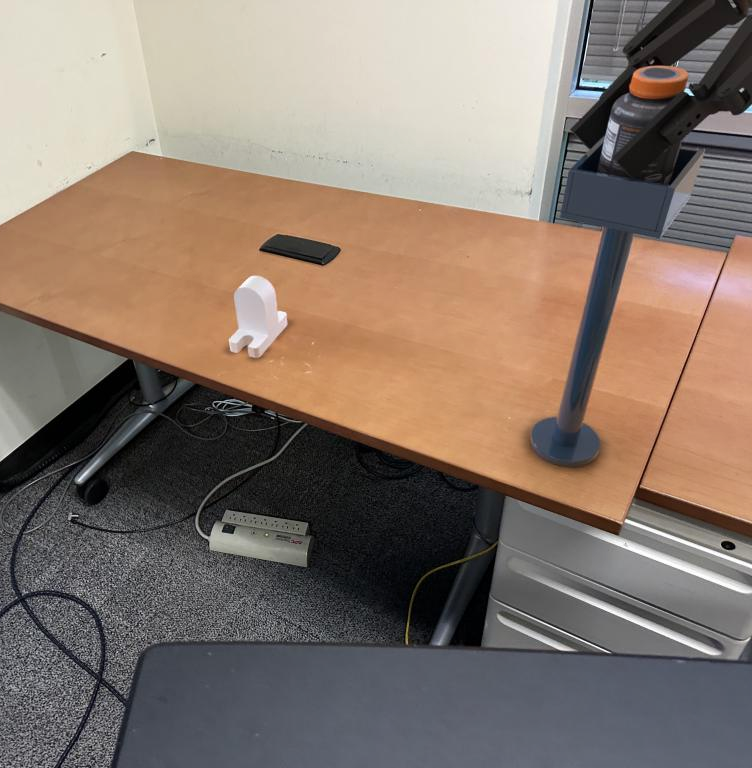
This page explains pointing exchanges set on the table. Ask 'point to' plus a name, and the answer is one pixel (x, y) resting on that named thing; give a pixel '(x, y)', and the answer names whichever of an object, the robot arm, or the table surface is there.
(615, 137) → the pill bottle
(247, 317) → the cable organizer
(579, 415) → the square tray stand
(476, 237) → the table surface
